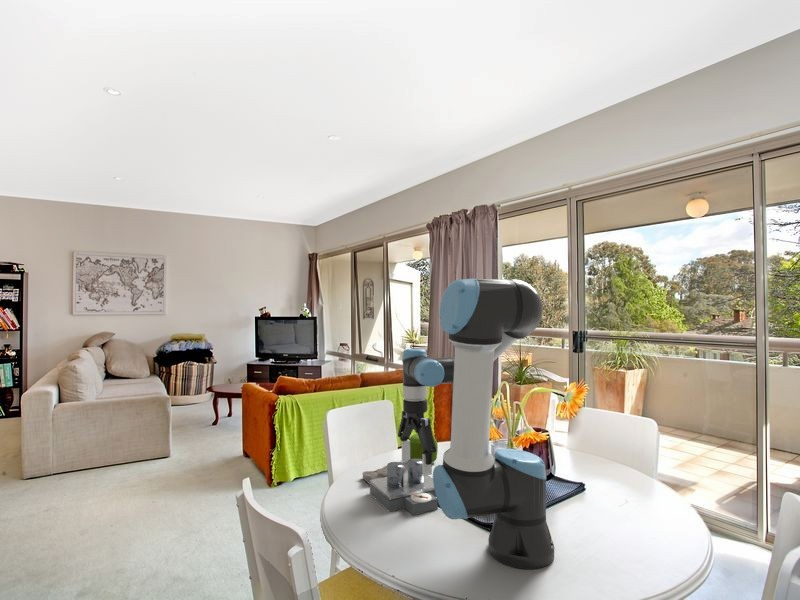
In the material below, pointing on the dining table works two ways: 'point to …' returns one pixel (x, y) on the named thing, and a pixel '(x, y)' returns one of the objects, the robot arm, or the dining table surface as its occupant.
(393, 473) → the cylinder
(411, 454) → the apple
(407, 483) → the platform
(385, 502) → the scale
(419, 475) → the cylinder
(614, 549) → the dining table surface
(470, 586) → the dining table surface
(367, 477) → the stone
